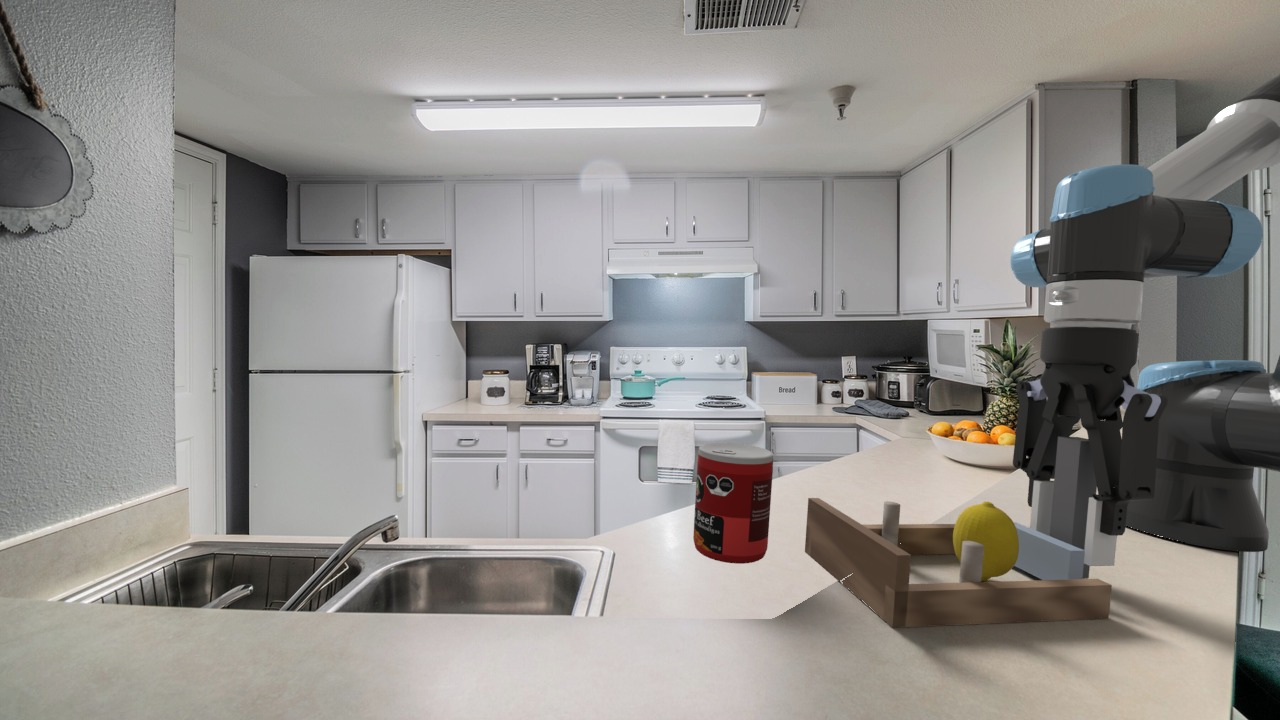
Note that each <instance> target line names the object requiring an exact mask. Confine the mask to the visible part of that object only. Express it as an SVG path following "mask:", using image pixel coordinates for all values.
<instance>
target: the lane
mask: <svg viewBox="0 0 1280 720" xmlns="http://www.w3.org/2000/svg"><path fill="white" fill-rule="evenodd" d="M882 511H883V513H882V524H880V523H879V524H862V523H860V522H858V521H856V520H855V519H853V518H852V517H850V516H848V515H847V514H845V513H843V512H842V511H841V510H838V509H837V508H836V507H834V506H833V505H831V504H829V503H827V502H826V501H824V500H823V499H821V498H820V497H808V498H807V511H806V512H807V513H806V528H805V545H804V553H805V554H806V555H808V556H809V557H810V558H811V559H812V560H814V562H816V563H817V564H818V565H819V566H820V567H822V568H823V570H825V571H826V572H828V574H829V575H831V576H832V577H833V578H834V579H835V580H837V581H838V582H839V581H840V580H842V579H843V578H845V577H847V576H848V575H850V574H852V573H853V574H852V575H851V576H849V577H847V578H845V580H843V581H842V582H843V585H842V586H843V587H845V586H846V587H847V588H849V589H850V590H851V591H852V592H853V593H854V594H855V595H856V596H858V597H859V598H860V599H861V600H863V601H864V602H865V603H866V604H867V605H868V606H870V607H871V608H872V609H873V610H874V611H875V612H876V613H877V614H878V615H879V616H881V617H880V619H882V618H883V619H882V621H884V622H885V621H886V622H887V623H888V624H887V623H886V622H885V623H886V624H887V625H888V626H890V628H894V629H895V627H896V628H913V627H914V628H915V627H916V628H917V627H939V626H940V627H942V626H964V625H967V626H968V625H983V624H984V625H987V624H1009V623H1010V622H1012V623H1030V622H1031V623H1033V622H1034V623H1035V622H1036V623H1037V622H1057V621H1058V622H1059V621H1077V620H1079V621H1081V620H1084V621H1085V620H1100V619H1101V620H1103V619H1105V620H1106V619H1109V617H1110V609H1111V608H1110V607H1111V597H1112V587H1113V586H1112V584H1111V583H1108V582H1105V581H1103V580H1101V579H1099V578H1083V579H1073V580H1042V579H1039V580H1009V581H1005V580H1004V581H981V577H982V565H983V552H984V546H983V545H982V544H980V543H977V542H973V541H963V542H962V554H961V562H960V570H959V582H939V583H938V582H937V583H936V582H934V583H910V576H911V575H910V573H911V561H912V556H914V555H915V556H917V555H919V556H920V555H956V553H955V550H954V545H953V531H954V527H955V524H956V523H931V524H930V523H916V524H915V523H907V524H906V523H905V524H904V523H902V524H900V513H901V504H900V503H899V502H895V501H888V500H887V501H884V502H883V510H882ZM900 543H901V544H900ZM846 587H845V588H846ZM847 588H846V589H847ZM852 592H851V593H852ZM853 593H852V594H853ZM854 594H853V595H854ZM855 595H854V596H855ZM856 596H855V597H856ZM859 598H858V599H859ZM860 599H859V600H860ZM861 600H860V601H861ZM867 605H866V606H867ZM868 606H867V607H868ZM874 611H873V612H874ZM875 612H874V613H875ZM876 613H875V614H876ZM877 614H876V615H877ZM878 615H877V616H878ZM879 616H878V617H879ZM1008 622H1009V623H1008Z"/></svg>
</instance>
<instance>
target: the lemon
mask: <svg viewBox="0 0 1280 720" xmlns="http://www.w3.org/2000/svg"><path fill="white" fill-rule="evenodd" d="M954 524H955V527H954V531H953V545H954V550H955V553H956V554H955V555H956V558H957V559H958V561H959V562H960V563H961V554H962V542H963V541H973V542H977V543H980V544H982V545H983V546H984V552H983V565H982V577H981V582H987V581H988V580H989V579H991V578H997V577H1001V576H1004V575H1006V574H1007V573H1009V572H1011V570H1012V569H1013V568H1014V567H1015V566H1014V565H1015V563H1016V561H1017V558H1018V554H1019V539H1018V533H1017V529H1016V527H1015V524H1014V521H1013V519H1012V518H1011V517H1010V516H1009V515H1008V514H1007V513H1006V512H1005V511H1004V510H1001V509H1000V508H998V507H997V506H995V505H994V504H993V503H992V502H991V501H983V502H982V503H979V504H973V505H971V506H968V507H966V508H965V509H964V510H963V511H962V512H961V513H960V514H959V515H958V517H957V519H956V522H955V523H954Z"/></svg>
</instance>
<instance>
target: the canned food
mask: <svg viewBox="0 0 1280 720" xmlns="http://www.w3.org/2000/svg"><path fill="white" fill-rule="evenodd" d="M696 463H697V464H696V483H695V500H694V503H695V505H694V519H693V537H692V538H693V544H694V546H695V547H694V548H695V549H696V551H698V553H700V554H701V555H702V556H704V557H706V558H708V559H710V560H713V561H718V562H721V563H729V564H735V565H736V564H742V565H743V564H752V563H756V562H759V561H760V560H762V559H764V557H765V556H766V553H767V550H768V548H769V547H768V545H769V544H768V543H769V533H770V531H769V530H770V529H769V527H770V518H771V517H770V515H771V503H772V502H771V500H772V489H773V488H772V487H773V474H774V453H773V452H772V451H770V450H769V449H766V448H763V447H759V446H756V445H749V444H743V443H729V442H715V443H713V442H712V443H710V442H709V443H706V444H702V445H700V446H698V452H697V462H696Z"/></svg>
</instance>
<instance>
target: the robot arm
mask: <svg viewBox="0 0 1280 720" xmlns="http://www.w3.org/2000/svg"><path fill="white" fill-rule="evenodd" d="M1279 163H1280V73H1279V74H1278V75H1276V76H1274V77H1273V78H1271V79H1270V80H1267V81H1266V82H1264V83H1262V84H1261V85H1260V86H1258V87H1256V88H1255V89H1253V90H1251V91H1250V92H1249V93H1247V94H1245V95H1244V96H1242V97H1240V98H1239V99H1238V100H1236V101H1234V102H1233V103H1231V104H1229V105H1228V106H1227V107H1226V108H1224V109H1222V110H1221V111H1219V112H1218V113H1217V114H1216V115H1214V117H1213V118H1212V119H1211V121H1209V123H1208V125H1207V127H1206V129H1205V130H1204V131H1202V132H1201V133H1200V134H1198V135H1196V136H1195V137H1194V138H1192V139H1190V140H1189V141H1187V142H1185V143H1184V144H1182V145H1181V146H1180V147H1178V148H1176V149H1175V150H1173V151H1171V152H1170V153H1169V154H1167V155H1165V156H1163V158H1161V159H1159V160H1158V161H1156V162H1155V163H1154V164H1152V165H1150V166H1149V167H1146V166H1144V165H1139V164H1110V165H1102V166H1097V167H1091V168H1087V169H1083V170H1080V171H1076V172H1074V173H1071V174H1070V175H1067V176H1066V177H1064V178H1062V179H1061V180H1060V181H1059V183H1058V184H1057V186H1056V188H1055V193H1054V198H1053V205H1052V210H1051V214H1050V217H1049V222H1050V228H1048V229H1047V228H1043V229H1038V230H1037V231H1035V232H1032V233H1028V234H1026V235H1024V236H1023V237H1021V238H1020V239H1018V241H1017V242H1016V243H1015V245H1014V246H1013V248H1012V250H1011V252H1010V253H1011V254H1010V268H1011V271H1012V272H1013V275H1014V277H1015V278H1016V279H1017V280H1018V281H1019V282H1020V283H1021V284H1023V286H1027V287H1030V288H1045V289H1046V290H1045V301H1044V310H1043V311H1044V312H1043V313H1044V314H1043V321H1044V322H1045V323H1048V324H1049V325H1050V326H1049V327H1045V328H1044V330H1042V332H1041V342H1040V353H1039V359H1040V360H1041V361H1042V362H1043V363H1044V365H1045V367H1044V370H1043V372H1042V374H1041V375H1040V379H1035V380H1033V381H1020V380H1019V381H1017V383H1016V391H1017V398H1018V409H1017V410H1018V411H1017V418H1016V419H1017V420H1016V429H1015V436H1014V437H1015V439H1014V446H1013V448H1014V449H1013V455H1012V457H1013V458H1012V465H1013V467H1014V468H1015V469H1019V470H1021V471H1023V472H1024V473H1025V474H1026V476H1027V477H1028V492H1027V504H1028V507H1030V508H1031V511H1030V522H1029V528H1031V529H1033V530H1036V531H1038V532H1041V533H1043V534H1046V535H1048V536H1049V535H1050V524H1051V512H1052V501H1053V489H1054V478H1055V466H1056V454H1057V443H1058V437H1071V436H1070V435H1071V433H1072V431H1073V429H1074V426H1075V425H1076V424H1078V423H1079V422H1081V426H1082V428H1083V429H1085V430H1086V432H1087V439H1089V445H1090V450H1091V456H1092V462H1093V467H1094V473H1095V478H1096V484H1097V493H1096V494H1092V496H1093V497H1089V503H1088V514H1087V525H1086V536H1085V548H1084V550H1085V555H1084V564H1087V565H1089V566H1090V567H1114V566H1115V562H1116V561H1115V559H1116V550H1117V541H1118V540H1117V539H1118V536H1123V535H1124V533H1125V532H1126V527H1127V526H1128V528H1129V527H1132V528H1135V529H1138V530H1141V531H1145V532H1148V533H1151V534H1155V535H1159V536H1163V537H1165V538H1164V539H1166V538H1170V539H1173V540H1172V541H1174V540H1178V541H1181V542H1180V543H1183V542H1185V543H1184V544H1188V545H1194V546H1199V547H1205V548H1209V549H1217V550H1223V551H1229V552H1230V551H1231V552H1243V553H1252V552H1253V553H1259V552H1260V553H1261V552H1264V551H1266V550H1268V547H1269V536H1270V532H1269V528H1268V526H1267V524H1266V520H1265V518H1264V515H1263V512H1262V509H1261V506H1260V503H1259V500H1258V497H1257V494H1256V491H1255V489H1254V485H1253V483H1254V471H1255V468H1257V469H1263V470H1266V471H1267V470H1268V471H1274V472H1279V473H1280V354H1279V356H1278V359H1277V363H1276V365H1275V368H1274V372H1267V369H1265V366H1264V364H1263V363H1262V362H1260V361H1257V360H1242V359H1241V360H1240V359H1238V360H1237V359H1234V360H1232V359H1231V360H1229V359H1224V360H1223V359H1219V360H1217V359H1215V360H1213V359H1212V360H1186V361H1170V362H1159V363H1153V364H1150V365H1147V366H1146V367H1144V368H1143V369H1142V370H1141V371H1140V373H1139V375H1138V380H1137V387H1135V383H1134V380H1133V379H1132V375H1131V372H1132V371H1131V370H1132V368H1133V367H1135V365H1136V364H1137V359H1138V358H1137V357H1138V350H1139V349H1138V348H1139V340H1140V339H1139V338H1140V333H1138V332H1137V330H1135V329H1132V325H1137V324H1139V323H1141V322H1142V311H1143V310H1142V309H1143V300H1144V299H1143V297H1144V296H1143V295H1144V283H1145V281H1144V280H1145V279H1151V278H1158V277H1159V278H1160V277H1173V276H1175V277H1178V276H1182V277H1185V278H1188V279H1195V278H1215V277H1221V276H1222V277H1223V276H1225V275H1228V274H1231V273H1233V272H1235V271H1238V270H1239V269H1241V268H1243V267H1244V266H1246V264H1248V263H1249V262H1251V260H1252V259H1253V258H1254V257H1255V255H1256V254H1257V252H1258V251H1259V249H1260V247H1261V245H1262V242H1263V241H1262V240H1263V237H1264V231H1263V230H1264V229H1263V225H1262V222H1261V220H1260V218H1259V217H1258V216H1257V215H1256V214H1255V213H1254V212H1253V211H1251V210H1250V209H1248V208H1246V207H1242V206H1240V205H1234V204H1229V203H1224V202H1221V200H1217V201H1216V200H1213V199H1211V198H1214V197H1215V196H1216V195H1217V194H1219V193H1221V192H1222V191H1223V190H1225V189H1227V188H1228V187H1229V186H1231V185H1233V184H1234V183H1236V182H1237V181H1239V180H1240V179H1242V178H1244V177H1245V176H1246V175H1248V174H1250V173H1251V172H1252V171H1259V170H1264V169H1267V168H1271V167H1273V166H1275V165H1278V164H1279ZM1210 199H1211V200H1210ZM1121 407H1122V409H1124V410H1125V412H1124V414H1123V416H1122V411H1121ZM1122 417H1123V418H1122ZM1121 430H1122V431H1121ZM1051 479H1052V480H1051ZM1132 528H1131V529H1132ZM1135 529H1134V530H1135ZM1138 530H1137V531H1138ZM1141 531H1140V532H1141ZM1151 534H1150V535H1151ZM1170 539H1169V540H1170ZM1178 541H1177V542H1178ZM1235 550H1236V551H1235ZM1237 550H1238V551H1237Z"/></svg>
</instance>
